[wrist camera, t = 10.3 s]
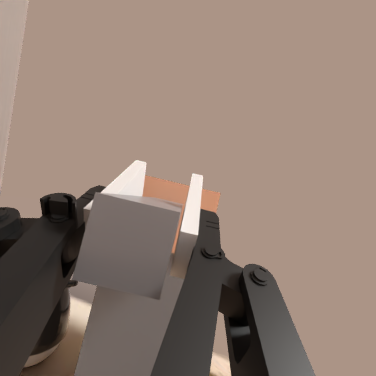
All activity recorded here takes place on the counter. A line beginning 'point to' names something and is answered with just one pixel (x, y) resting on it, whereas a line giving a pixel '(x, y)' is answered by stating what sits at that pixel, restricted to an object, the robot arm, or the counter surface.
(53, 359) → the counter surface
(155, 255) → the orange and grey block
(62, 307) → the pump dispenser
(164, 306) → the grey tall block
